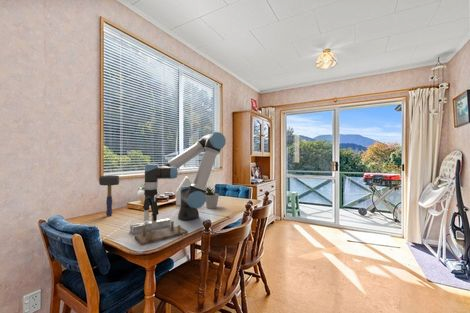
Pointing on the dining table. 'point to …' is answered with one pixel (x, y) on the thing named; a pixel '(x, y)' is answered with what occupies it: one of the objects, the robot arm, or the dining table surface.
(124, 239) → the dining table surface
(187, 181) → the milk carton
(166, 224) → the grey long bar
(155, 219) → the robot arm
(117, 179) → the rubber mallet
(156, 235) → the tool rack
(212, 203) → the potted plant
